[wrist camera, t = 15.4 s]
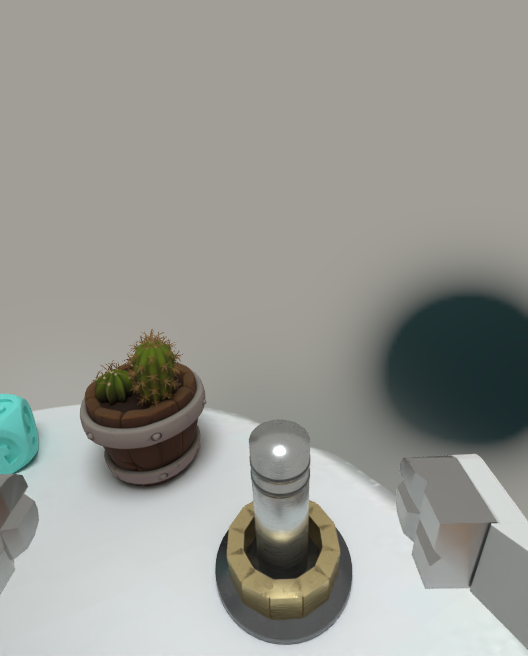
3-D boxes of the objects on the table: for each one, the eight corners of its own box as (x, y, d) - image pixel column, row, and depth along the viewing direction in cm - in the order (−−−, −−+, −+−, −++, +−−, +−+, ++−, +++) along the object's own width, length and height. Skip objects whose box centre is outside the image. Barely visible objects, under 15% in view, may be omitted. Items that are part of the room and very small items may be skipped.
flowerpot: (75, 465, 49) (29, 329, 41) (171, 408, 60) (149, 289, 51) (136, 529, 41) (92, 372, 32) (235, 449, 51) (223, 314, 42)
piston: (257, 587, 34) (247, 464, 27) (257, 537, 38) (249, 420, 32) (311, 585, 34) (314, 461, 27) (305, 535, 38) (306, 418, 32)
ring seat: (208, 647, 31) (203, 621, 29) (222, 509, 42) (219, 485, 41) (367, 641, 31) (371, 614, 29) (337, 505, 42) (338, 480, 41)
